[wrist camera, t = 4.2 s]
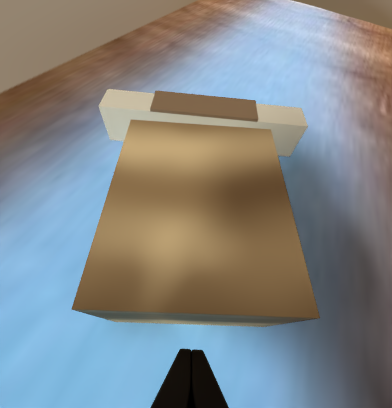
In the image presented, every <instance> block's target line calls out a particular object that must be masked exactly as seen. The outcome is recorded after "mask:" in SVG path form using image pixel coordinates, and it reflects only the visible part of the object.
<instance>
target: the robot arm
mask: <svg viewBox="0 0 392 408" xmlns="http://www.w3.org/2000/svg"><path fill="white" fill-rule="evenodd" d="M151 408H229V407H228V405H227V403H226V401H225V398H224V396H223V394H222V392H221V389H220V387H219V385H218V383H217V381H216V378H215V376H214V374H213V372H212V369H211V367H210V365H209V363H208V360H207V358H206V356H205V354H204V352H203V351H202V350H192V352H191V350H190V349H180V350H179V352H178V354H177V356H176V358H175V360H174V362H173V364H172V366H171V368H170V370H169V372H168V374H167V376H166V378H165V380H164V382H163V384H162V386H161V388H160V390H159V392H158V394H157V396H156V398H155V400H154V402H153V404H152V406H151Z"/></svg>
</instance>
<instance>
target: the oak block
mask: <svg viewBox="0 0 392 408" xmlns="http://www.w3.org/2000/svg"><path fill="white" fill-rule="evenodd" d="M72 310H75V311H79V312H83V313H86V314H90V315H93V316H97V317H100V318H104V319H107V320H111V321H114V322H134V323H164V324H194V325H224V326H254V327H267V326H273V325H279V324H286V323H292V322H299V321H305V320H311V319H318V318H320V316H319V312H318V308H317V305H316V301H315V297H314V293H313V289H312V285H311V282H310V278H309V274H308V270H307V266H306V262H305V258H304V255H303V251H302V247H301V243H300V239H299V235H298V232H297V228H296V224H295V220H294V216H293V212H292V209H291V205H290V201H289V197H288V193H287V189H286V185H285V182H284V178H283V174H282V170H281V166H280V162H279V159H278V155H277V151H276V147H275V143H274V139H273V135H272V132H271V129H258V128H244V127H230V126H216V125H202V124H188V123H174V122H159V121H145V120H130V124H129V127H128V130H127V133H126V136H125V140H124V143H123V146H122V149H121V152H120V156H119V159H118V162H117V165H116V168H115V172H114V175H113V178H112V181H111V185H110V188H109V191H108V194H107V197H106V201H105V204H104V207H103V210H102V213H101V217H100V220H99V223H98V226H97V229H96V233H95V236H94V239H93V242H92V245H91V249H90V252H89V255H88V258H87V261H86V265H85V268H84V271H83V274H82V277H81V281H80V284H79V287H78V290H77V293H76V297H75V300H74V303H73V306H72Z"/></svg>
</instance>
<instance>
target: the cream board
mask: <svg viewBox="0 0 392 408" xmlns="http://www.w3.org/2000/svg"><path fill="white" fill-rule="evenodd" d="M99 109H100V112H101V115H102V117H103V120H104V123H105V126H106V129H107V132H108V135H109V138H110V140H115V141H124V140H125V136H126V133H127V130H128V127H129V124H130V120H145V121H159V122H174V123H188V124H202V125H216V126H230V127H244V128H258V129H271V132H272V135H273V139H274V143H275V147H276V151H277V155H278V156H286V157H290V155H291V154H292V152H293V150H294V149H295V147H296V145H297V144H298V142H299V140H300V139H301V137H302V135H303V134H304V132H305V130H306V129H307V127H308V125H307V123H306V120H305V117H304V114H303V111H302V109H301V108H295V107H285V106H275V105H265V104H256V101H255V100H246V99H236V98H225V97H215V96H205V95H195V94H185V93H175V92H165V91H155V94H153V93H143V92H133V91H123V90H112V89H108V90H107V92H106V93H105V95H104V97H103V99H102V101H101V103H100V104H99Z"/></svg>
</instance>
